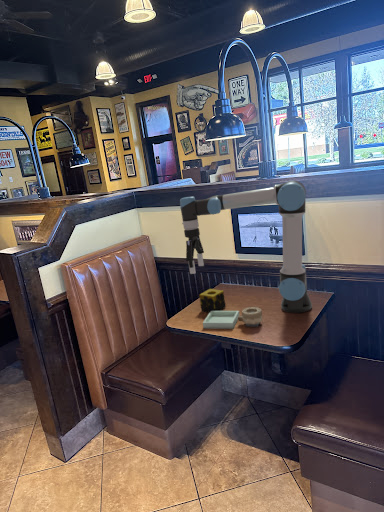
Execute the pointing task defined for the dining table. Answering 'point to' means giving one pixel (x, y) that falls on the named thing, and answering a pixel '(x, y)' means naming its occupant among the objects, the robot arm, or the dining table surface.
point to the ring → (251, 315)
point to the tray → (221, 320)
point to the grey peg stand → (252, 324)
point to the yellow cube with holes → (212, 300)
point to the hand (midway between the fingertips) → (197, 269)
